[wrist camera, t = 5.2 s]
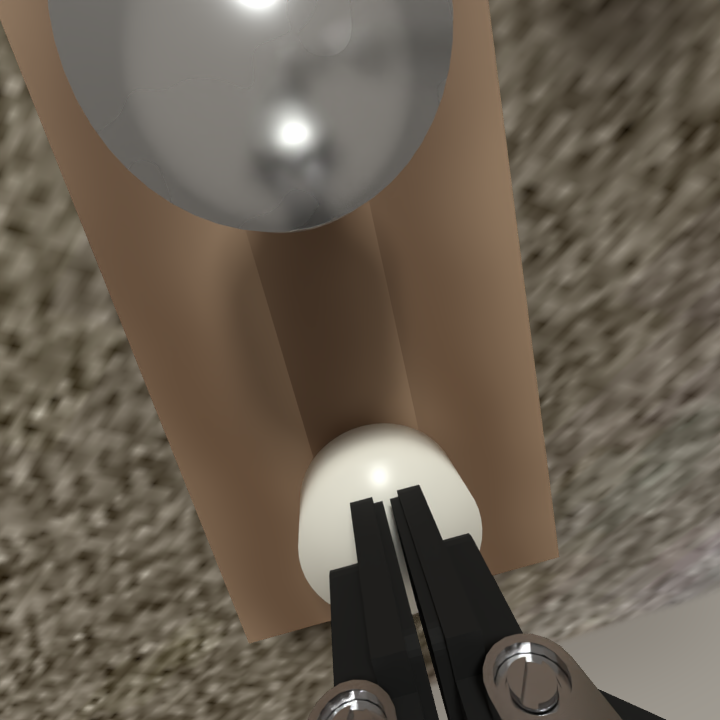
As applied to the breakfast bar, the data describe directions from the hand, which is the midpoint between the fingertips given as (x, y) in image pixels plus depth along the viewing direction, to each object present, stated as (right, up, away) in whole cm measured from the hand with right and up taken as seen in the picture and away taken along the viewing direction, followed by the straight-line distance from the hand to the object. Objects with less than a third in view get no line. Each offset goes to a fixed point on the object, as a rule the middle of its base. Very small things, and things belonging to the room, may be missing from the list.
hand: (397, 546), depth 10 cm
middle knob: (-3, +10, +2) cm, 11 cm away
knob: (-1, +2, +8) cm, 8 cm away
